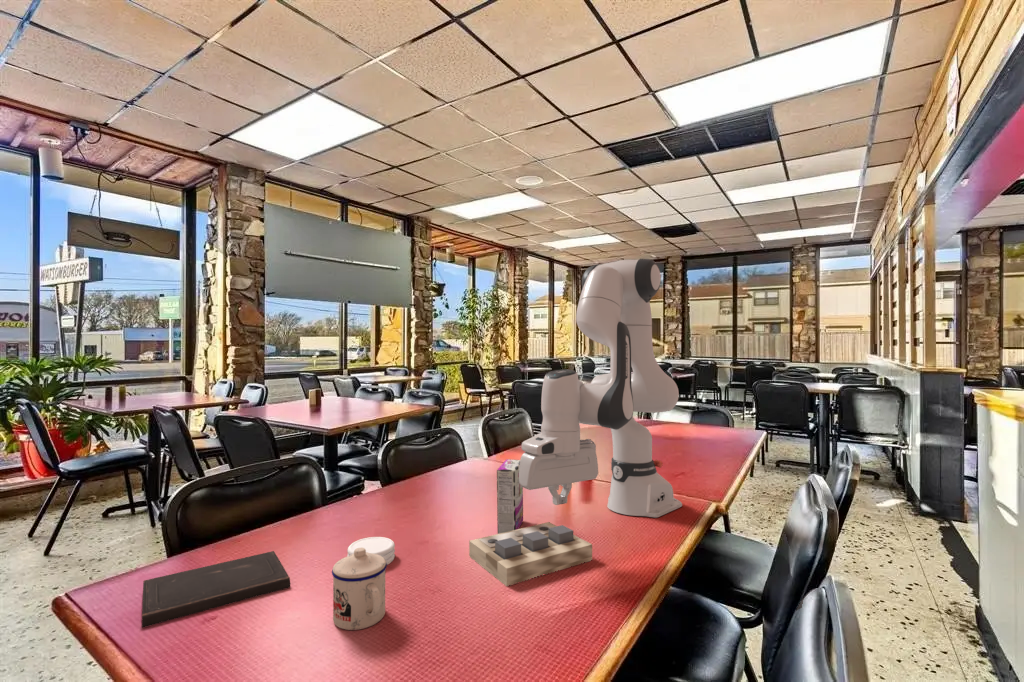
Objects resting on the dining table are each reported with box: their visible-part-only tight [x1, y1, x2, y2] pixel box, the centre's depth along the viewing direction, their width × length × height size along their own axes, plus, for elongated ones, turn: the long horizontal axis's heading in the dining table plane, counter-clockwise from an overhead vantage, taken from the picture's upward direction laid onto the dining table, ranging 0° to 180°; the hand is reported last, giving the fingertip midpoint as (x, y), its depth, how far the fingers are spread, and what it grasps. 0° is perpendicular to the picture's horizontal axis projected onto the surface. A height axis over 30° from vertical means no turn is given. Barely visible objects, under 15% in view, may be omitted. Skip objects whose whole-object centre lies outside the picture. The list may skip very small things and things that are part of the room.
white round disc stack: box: [346, 536, 396, 566], centre depth 107 cm, size 10×10×4 cm
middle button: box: [523, 531, 548, 552], centre depth 106 cm, size 4×4×3 cm
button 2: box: [548, 524, 574, 545], centre depth 110 cm, size 4×4×3 cm
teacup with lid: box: [331, 548, 388, 631], centre depth 83 cm, size 12×9×12 cm
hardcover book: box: [141, 550, 291, 628], centre depth 94 cm, size 16×23×2 cm
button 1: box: [495, 538, 521, 560], centre depth 102 cm, size 4×4×3 cm
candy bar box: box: [496, 458, 524, 534], centre depth 126 cm, size 11×5×16 cm, turn 168°
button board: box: [468, 521, 593, 587], centre depth 108 cm, size 22×16×4 cm
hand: (559, 503), depth 110 cm, fingers closed
